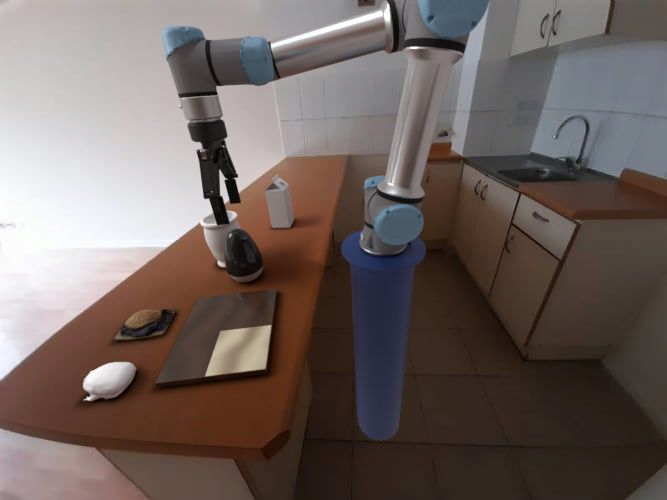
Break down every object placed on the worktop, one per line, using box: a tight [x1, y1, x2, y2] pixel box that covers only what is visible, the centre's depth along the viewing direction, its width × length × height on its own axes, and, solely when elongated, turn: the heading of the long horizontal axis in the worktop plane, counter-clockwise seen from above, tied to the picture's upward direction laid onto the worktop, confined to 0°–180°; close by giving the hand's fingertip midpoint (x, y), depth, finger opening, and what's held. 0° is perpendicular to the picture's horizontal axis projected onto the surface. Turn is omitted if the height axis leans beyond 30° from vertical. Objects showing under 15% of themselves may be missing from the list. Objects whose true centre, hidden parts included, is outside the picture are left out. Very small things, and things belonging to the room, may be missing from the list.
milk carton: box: [264, 173, 295, 229], centre depth 105 cm, size 7×7×19 cm
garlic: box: [82, 361, 137, 402], centre depth 51 cm, size 8×7×4 cm
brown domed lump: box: [114, 308, 176, 342], centre depth 64 cm, size 11×8×4 cm
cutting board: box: [154, 288, 278, 389], centre depth 61 cm, size 20×24×2 cm
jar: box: [199, 210, 241, 269], centre depth 84 cm, size 11×10×15 cm
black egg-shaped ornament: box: [224, 227, 264, 283], centre depth 76 cm, size 10×10×15 cm
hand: (230, 212), depth 70 cm, fingers open, 13 cm apart
